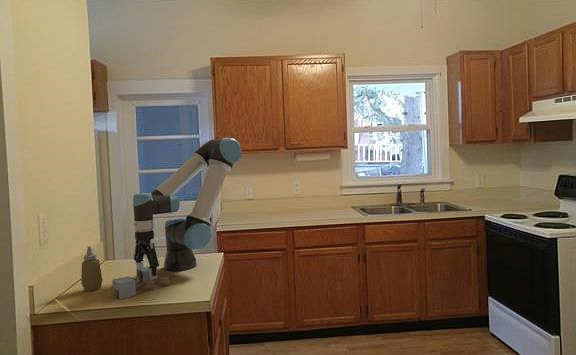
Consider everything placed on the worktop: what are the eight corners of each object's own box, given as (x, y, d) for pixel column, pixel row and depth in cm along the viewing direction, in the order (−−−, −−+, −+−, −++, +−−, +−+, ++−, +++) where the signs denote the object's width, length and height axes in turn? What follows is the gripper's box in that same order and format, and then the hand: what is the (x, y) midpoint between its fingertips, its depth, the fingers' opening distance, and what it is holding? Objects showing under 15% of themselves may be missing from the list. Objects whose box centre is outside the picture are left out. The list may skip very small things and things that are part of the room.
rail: (167, 284, 188) (166, 276, 188) (170, 286, 186) (169, 277, 186) (112, 298, 174) (112, 289, 174) (115, 299, 172) (114, 290, 171)
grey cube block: (151, 279, 198) (150, 266, 197) (158, 283, 192) (157, 268, 191) (136, 283, 193) (135, 269, 193) (143, 286, 188) (142, 272, 187)
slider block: (120, 299, 171) (119, 283, 170) (113, 295, 176) (112, 279, 176) (137, 294, 175) (136, 279, 175) (130, 290, 181) (129, 275, 180)
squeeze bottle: (80, 294, 181) (76, 249, 180) (83, 288, 189) (80, 245, 188) (102, 291, 183) (98, 247, 182) (104, 286, 191) (101, 243, 190)
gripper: (124, 228, 199) (127, 277, 200) (147, 234, 179) (150, 288, 180) (141, 226, 203) (143, 273, 204) (165, 232, 184) (168, 284, 185)
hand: (147, 280), depth 192 cm, fingers open, 13 cm apart
